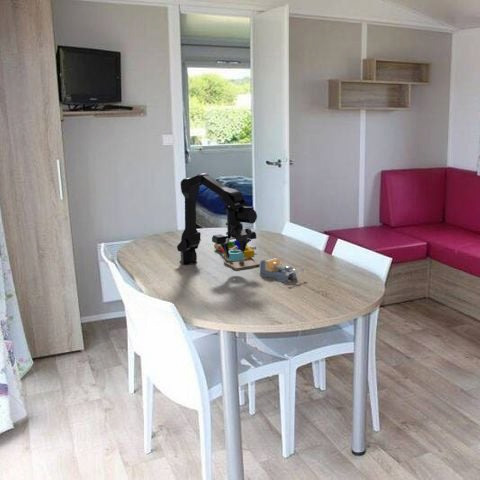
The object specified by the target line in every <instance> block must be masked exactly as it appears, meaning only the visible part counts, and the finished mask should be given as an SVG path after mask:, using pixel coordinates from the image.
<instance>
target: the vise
mask: <svg viewBox="0 0 480 480" xmlns="http://www.w3.org/2000/svg"><path fill="white" fill-rule="evenodd" d="M259 264H260V266H259V269H260V270H259V271H260V272H259V277H269V278H272V279H276V280H277V282H279V283H287V282H288V281H289V279H290V280H295V279H297V278H298V277H297V274H298V273H299V272H304V271H305V267H302V266H301V267H300V268H299V269H297V268H294V267H292V266H289V265H287V266H284V265H283V264H282V263H281V262H280V259H279V258H278V257H277V258H276V257H269V258H266V259H263V260H260V262H259Z"/></svg>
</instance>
